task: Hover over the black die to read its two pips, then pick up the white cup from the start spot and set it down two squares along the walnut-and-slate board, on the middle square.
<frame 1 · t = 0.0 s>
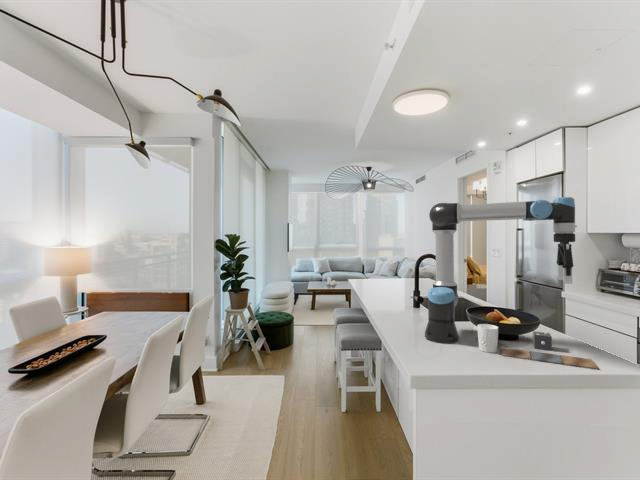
hand: (564, 281, 138), 28 cm above the table, tool pointing down, fingers open, 13 cm apart
board: (545, 358, 124), on the table
die: (542, 347, 136), on the table
white cup: (487, 350, 134), on the table
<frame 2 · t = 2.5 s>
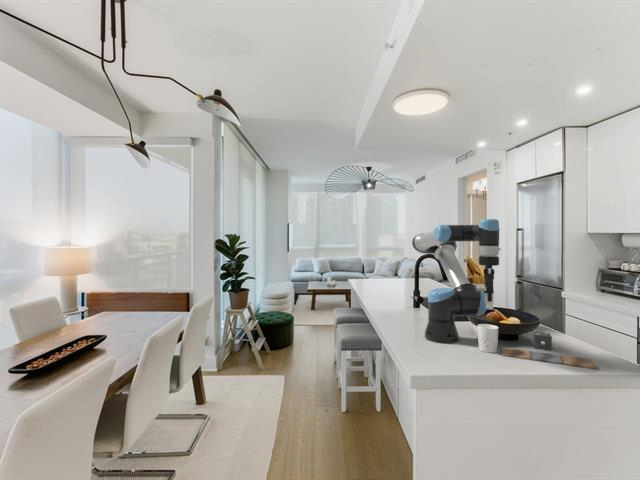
hand: (488, 305, 134), 19 cm above the table, tool pointing down, fingers open, 13 cm apart
nothing on the table moved.
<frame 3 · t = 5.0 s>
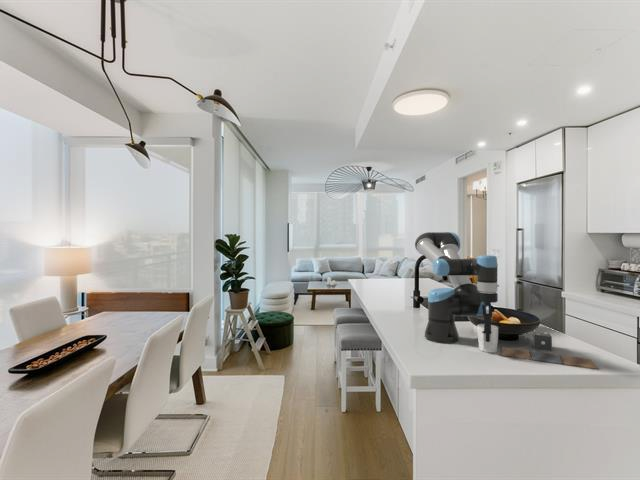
hand: (487, 345, 134), 2 cm above the table, tool pointing down, fingers closed on white cup, 8 cm apart
white cup: (487, 350, 134), on the table, touching gripper
everything else where it was.
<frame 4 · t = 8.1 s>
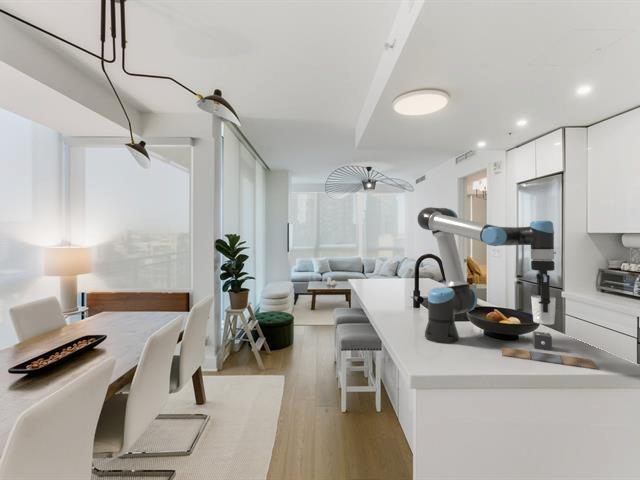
hand: (543, 318, 124), 16 cm above the table, tool pointing down, fingers closed on white cup, 8 cm apart
white cup: (543, 323, 124), point 14 cm above the table, touching gripper
everything else where it was.
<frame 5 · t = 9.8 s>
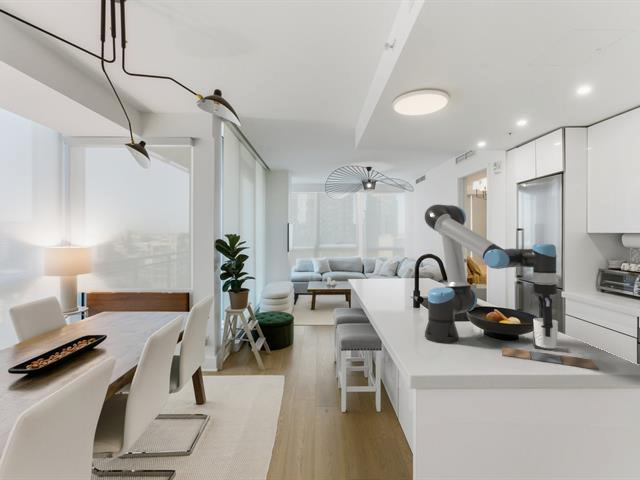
hand: (545, 341, 124), 6 cm above the table, tool pointing down, fingers closed on white cup, 8 cm apart
white cup: (545, 346, 124), point 5 cm above the table, touching gripper
everything else where it was.
when the fingers open (3 cm above the table, at t = 11.3 s): white cup stays where it is, resting on board.
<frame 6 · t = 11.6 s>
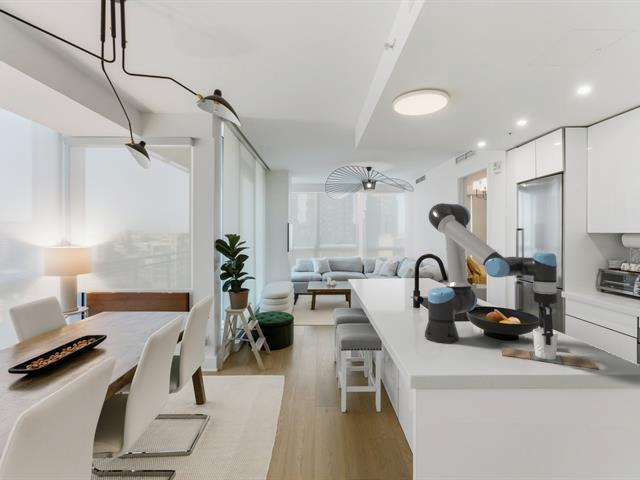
hand: (545, 348, 124), 4 cm above the table, tool pointing down, fingers open, 11 cm apart
white cup: (545, 357, 124), resting on board
everything else where it was.
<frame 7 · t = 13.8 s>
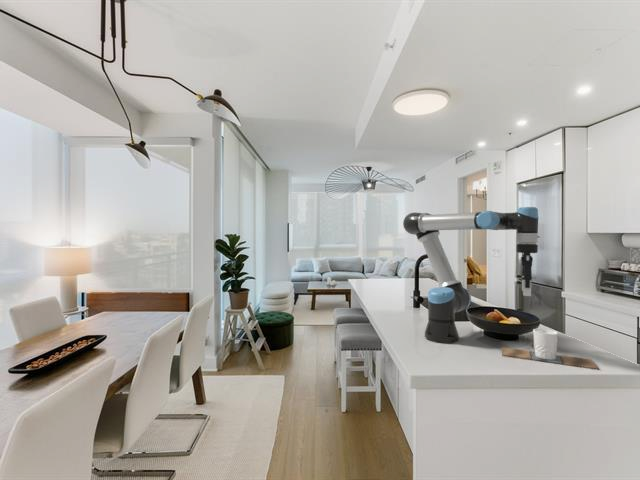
hand: (526, 293, 135), 24 cm above the table, tool pointing down, fingers open, 13 cm apart
nothing on the table moved.
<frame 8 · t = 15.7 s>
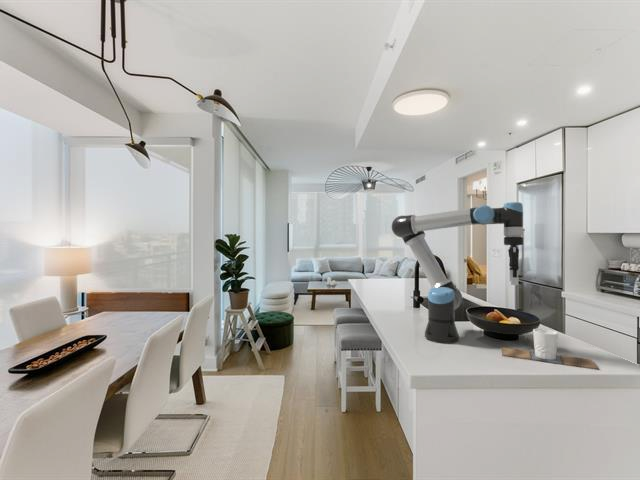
hand: (513, 283, 145), 27 cm above the table, tool pointing down, fingers open, 13 cm apart
nothing on the table moved.
at the end: white cup 0.1 cm off-centre on the board, point 0.3 cm above the board's base; white cup tilted 0°; the gripper is holding nothing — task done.
